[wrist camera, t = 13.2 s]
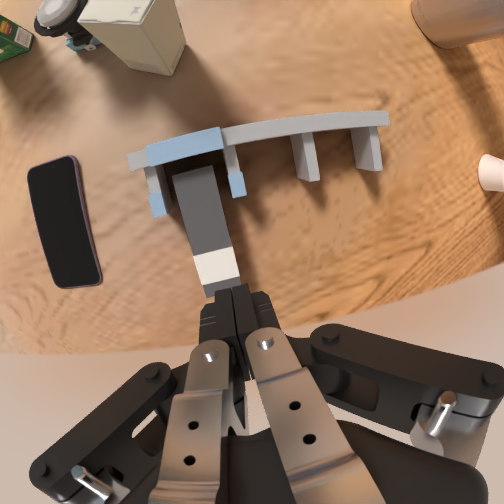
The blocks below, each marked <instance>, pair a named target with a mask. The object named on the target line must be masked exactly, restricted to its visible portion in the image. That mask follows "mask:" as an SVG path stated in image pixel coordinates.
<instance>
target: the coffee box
mask: <svg viewBox="0 0 504 504" xmlns="http://www.w3.org/2000/svg"><path fill="white" fill-rule="evenodd" d="M33 37H34V34H32V33H31V32H29V31H27V30H26V29H24V28H22V27H21V26H19V25H17V24H16V23H14V22H12V21H10V20H9V19H7V18H5V17H3V16H2V15H0V63H1V62H2V61H4V60H7V59H9V58H12V57H14V56H16V55H19V54H22V53H25V52H27V51H30V48H31V44H32V40H33Z"/></svg>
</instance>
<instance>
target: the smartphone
mask: <svg viewBox="0 0 504 504" xmlns="http://www.w3.org/2000/svg"><path fill="white" fill-rule="evenodd" d="M27 181H28V187H29V193H30V198H31V203H32V208H33V212H34V217H35V221H36V225H37V229H38V233H39V237H40V240H41V244H42V247H43V251H44V254H45V257H46V260H47V263H48V266H49V269H50V272H51V275H52V278H53V281H54V283H55V285H56V286H57V287H59V288H72V287H81V286H89V285H96V284H98V283H99V282H100V281H101V279H102V275H101V271H100V267H99V264H98V260H97V256H96V253H95V249H94V245H93V241H92V236H91V232H90V228H89V223H88V218H87V213H86V208H85V203H84V198H83V192H82V187H81V181H80V175H79V168H78V162H77V159H76V158H75V157H74V156H73V155H67V156H63V157H60V158H57V159H54V160H51V161H48V162H45V163H42V164H40V165H37V166H34V167H32V168H31V169H30V170H29V171H28V173H27Z"/></svg>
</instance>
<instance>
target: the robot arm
mask: <svg viewBox="0 0 504 504" xmlns="http://www.w3.org/2000/svg"><path fill="white" fill-rule="evenodd" d="M411 10H412V13H413V16H414V19H415V21H416V23H417V24H418V26H419V28H420V29H421V30H422V32H423V33H424V34H425V35H426V36H427V37H428V38H429V39H430V40H431V41H432V42H433V43H434V44H436V45H437V46H439V47H441V48H444V49H451V48H455V47H459V46H463V45H468V44H472V43H477V42H481V41H486V40H492V39H497V38H503V37H504V0H413V1H412V3H411ZM249 371H250V373H249ZM250 374H251V377H252V380H253V379H255V380H256V383H257V386H258V390H259V393H260V396H261V399H262V403H263V405H264V409H265V412H266V415H267V418H268V421H269V424H270V428H268V429H266V430H263V431H261V432H259V433H256V434H254V435H250V436H249V429H248V428H249V427H248V408H247V396H246V393H245V381H249V380H251V379H250ZM503 397H504V368H503V367H502V366H500V365H498V364H495V363H491V362H486V361H482V360H477V359H472V358H468V357H463V356H459V355H455V354H450V353H446V352H441V351H438V350H433V349H429V348H425V347H421V346H417V345H413V344H409V343H406V342H402V341H398V340H394V339H391V338H387V337H383V336H380V335H376V334H372V333H369V332H365V331H362V330H358V329H355V328H351V327H348V326H344V325H341V324H326V325H322V326H320V327H318V328H316V329H315V330H314V331H313V332H312V333H311V335H310V338H293V337H290V336H287V335H286V334H284V332H283V331H282V330H281V328H280V325H279V323H278V320H277V317H276V314H275V312H274V309H273V306H272V303H271V301H270V298H269V295H267V294H266V293H264V292H263V291H260V292H256V293H252V294H250V291H249V287H248V283H246V284H242V285H238V286H234V287H232V290H231V287H230V288H226V289H222V290H217V291H215V302H214V303H209V304H206V305H205V306H204V308H203V309H202V310H201V314H200V330H199V345H198V346H196V347H195V348H194V349H193V351H192V352H191V355H190V361H189V362H187V363H186V364H184V365H182V366H179V367H176V368H174V369H172V370H171V369H170V367H169V366H168V365H167V364H166V363H162V362H155V363H151V364H148V365H146V366H144V367H143V368H141V369H140V370H139V371H138V372H137V373H136V374H135V375H133V376H132V377H131V378H130V379H129V380H128V381H127V382H125V383H124V384H123V385H122V386H121V387H120V388H119V389H117V391H115V392H114V393H113V394H112V395H111V396H110V397H108V398H107V399H106V400H105V401H104V402H102V403H101V404H100V405H99V406H98V407H97V408H95V409H94V410H93V411H92V412H91V413H90V414H89V415H87V416H86V417H85V418H84V419H83V420H82V421H80V422H79V423H78V424H77V425H76V426H75V427H74V428H72V429H71V430H70V431H69V432H68V433H66V434H65V435H64V436H63V437H62V438H60V439H59V440H58V441H57V442H56V443H55V444H53V445H52V446H51V447H50V448H49V449H48V450H46V451H45V452H44V453H43V454H42V455H40V456H39V457H38V458H37V459H36V460H35V461H34V462H33V463H32V465H31V467H30V471H29V477H30V481H31V482H32V484H33V485H34V486H35V487H36V488H38V489H39V490H41V491H42V492H44V493H45V494H47V495H48V496H50V497H51V498H52V499H53V500H54V501H56V502H58V503H59V504H488V487H487V484H486V481H485V479H484V477H483V476H482V474H481V473H480V472H479V471H478V470H477V469H475V466H476V463H477V460H478V458H479V455H480V452H481V449H482V446H483V443H484V439H485V436H486V433H487V429H488V425H489V422H490V418H491V416H492V414H493V413H494V411H495V410H496V408H497V407H498V405H499V403H500V402H501V400H502V399H503ZM326 402H327V403H329V404H332V405H334V406H336V407H338V408H341V409H343V410H346V411H348V412H351V413H353V414H355V415H358V416H360V417H363V418H365V419H368V420H371V421H373V422H376V423H379V424H381V425H384V426H387V427H389V428H392V429H395V430H398V431H401V432H404V433H407V434H410V439H411V442H412V444H413V445H414V446H415V447H413V446H410V445H408V444H405V443H402V442H399V441H397V440H395V439H392V438H389V437H387V436H385V435H382V434H380V433H377V432H375V431H373V430H370V429H368V428H366V427H363V426H361V425H359V424H356V423H352V422H348V421H343V420H336V419H335V418H334V416H333V414H332V412H331V410H330V408H329V407H328V405H327V403H326ZM153 410H154V411H155V412H156V414H157V416H156V417H155V418H154V419H153V420H152V421H151V422H150V423H149V424H148V425H147V426H146V427H145V428H143V430H142V431H141V432H139V433H138V434H137V435H136V436H135V437H134V438H132V432H133V430H134V429H135V428H136V427H137V426H138V425H139V424H140V423H141V422H142V421H143V420H144V419H145V418H146V417H147V416H148V415H149V414H150V413H151V412H152V411H153Z"/></svg>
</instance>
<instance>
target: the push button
mask: <svg viewBox="0 0 504 504" xmlns="http://www.w3.org/2000/svg"><path fill="white" fill-rule="evenodd" d="M88 1H89V0H45V1H44V2H43V3H42V5H41V6H40V8H39V10H38V13H37V16H36V18H35V22H34V28H35V31H36V32H37V33H38V34H40V35H41V36H51V37H58V36H62V35H64V36H65V38H66V39H67V44H66V46H68V47H69V48H71V49H72V50H73V51H79V50H82V49H84V48H85V49H86V50H87V51H91V50H94V49H96V48H97V47H95V46H94V45H97V44H100V43H102V42H100V41H99V40H98V39H97V38H96V37H95V36H93V35H92V34H91V33H90V32H89V31H88V30H86V29H85V28H84V27H83V26H82V25H80V24H79V23H78V22H77V20H78V18H79V17H80V15H81V13H82V11H83V10H84V8H85V6H86V4H87V3H88ZM47 27H49V28H51V29H47ZM89 48H92V49H89Z"/></svg>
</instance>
